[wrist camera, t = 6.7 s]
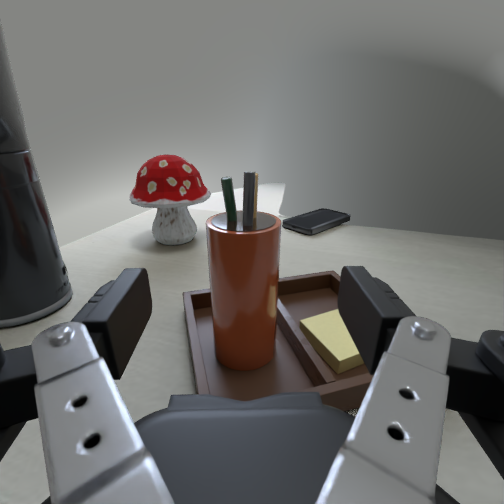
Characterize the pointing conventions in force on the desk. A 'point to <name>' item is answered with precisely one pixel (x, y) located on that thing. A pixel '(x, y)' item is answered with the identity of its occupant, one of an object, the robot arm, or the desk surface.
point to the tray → (284, 360)
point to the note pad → (331, 340)
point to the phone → (316, 221)
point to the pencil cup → (243, 279)
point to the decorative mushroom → (170, 196)
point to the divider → (303, 348)
